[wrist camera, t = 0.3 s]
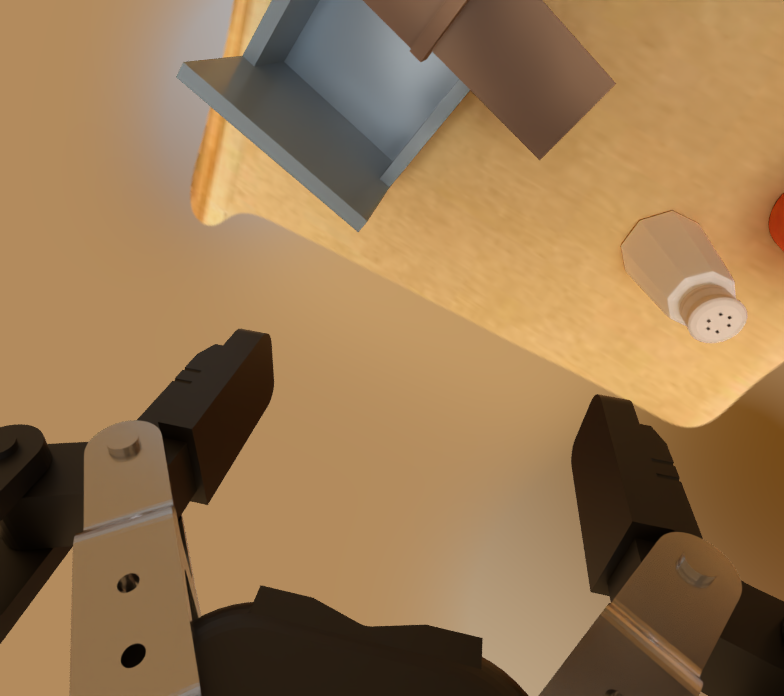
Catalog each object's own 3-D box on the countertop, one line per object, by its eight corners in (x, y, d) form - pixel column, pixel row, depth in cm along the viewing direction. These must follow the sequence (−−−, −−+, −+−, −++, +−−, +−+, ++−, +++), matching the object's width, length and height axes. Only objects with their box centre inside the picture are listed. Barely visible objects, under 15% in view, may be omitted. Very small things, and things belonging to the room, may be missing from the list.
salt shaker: (677, 193, 33) (747, 255, 24) (717, 250, 35) (798, 329, 25) (603, 244, 36) (642, 316, 27) (644, 295, 37) (694, 381, 28)
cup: (370, -112, 27) (301, -193, 17) (509, 37, 30) (517, 41, 20) (271, 62, 33) (176, 77, 23) (395, 175, 36) (358, 232, 26)
